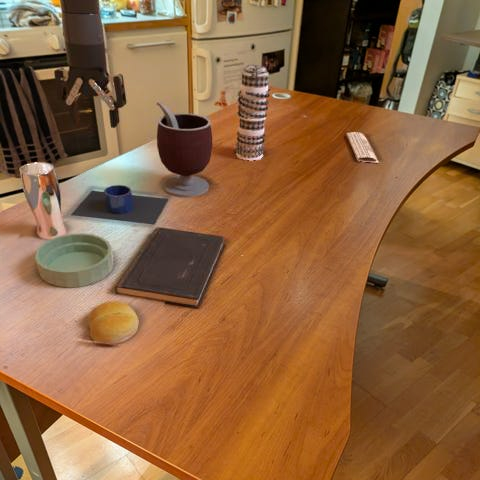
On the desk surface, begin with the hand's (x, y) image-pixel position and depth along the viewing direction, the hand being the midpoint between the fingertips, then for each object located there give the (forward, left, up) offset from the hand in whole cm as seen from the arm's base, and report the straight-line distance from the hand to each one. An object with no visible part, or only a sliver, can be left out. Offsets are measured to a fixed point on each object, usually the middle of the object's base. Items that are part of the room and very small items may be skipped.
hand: (95, 124), depth 101 cm
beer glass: (-7, -15, -20) cm, 26 cm away
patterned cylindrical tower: (+31, +43, -20) cm, 56 cm away
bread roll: (+17, -43, -20) cm, 50 cm away
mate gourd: (+16, +16, -20) cm, 30 cm away
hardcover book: (+23, -23, -20) cm, 38 cm away
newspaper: (+67, +59, -20) cm, 91 cm away
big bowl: (+4, -27, -20) cm, 33 cm away
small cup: (+4, -1, -19) cm, 19 cm away
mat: (+4, -1, -20) cm, 20 cm away
